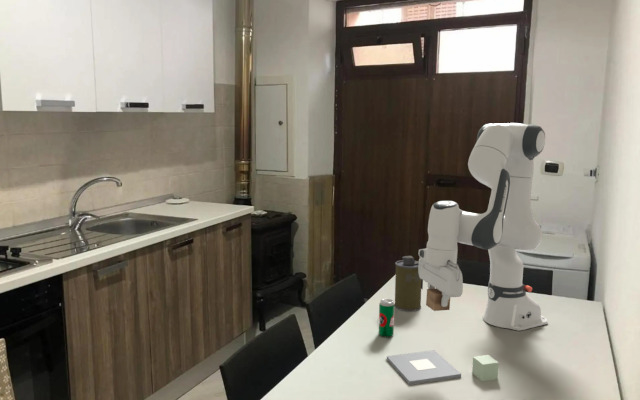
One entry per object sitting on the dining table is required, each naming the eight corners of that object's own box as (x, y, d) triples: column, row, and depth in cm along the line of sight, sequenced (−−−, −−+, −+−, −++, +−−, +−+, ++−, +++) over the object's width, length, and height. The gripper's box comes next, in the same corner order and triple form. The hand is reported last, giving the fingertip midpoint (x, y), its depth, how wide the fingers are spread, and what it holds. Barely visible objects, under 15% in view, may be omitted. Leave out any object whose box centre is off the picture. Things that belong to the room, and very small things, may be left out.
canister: (400, 312, 197) (401, 261, 194) (390, 302, 207) (391, 254, 204) (426, 309, 199) (428, 259, 196) (415, 300, 209) (417, 252, 206)
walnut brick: (440, 304, 157) (442, 288, 156) (449, 309, 152) (450, 293, 151) (425, 305, 155) (427, 288, 155) (434, 310, 150) (435, 294, 150)
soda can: (393, 338, 173) (393, 304, 171) (377, 337, 174) (378, 302, 172) (394, 332, 178) (394, 298, 176) (379, 331, 179) (379, 297, 177)
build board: (434, 353, 162) (434, 349, 162) (461, 377, 147) (461, 373, 147) (386, 359, 158) (386, 355, 158) (409, 384, 143) (409, 381, 143)
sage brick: (487, 370, 151) (488, 354, 150) (497, 379, 146) (498, 362, 146) (472, 373, 150) (473, 356, 149) (482, 381, 145) (482, 364, 144)
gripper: (470, 265, 142) (466, 313, 144) (434, 248, 162) (431, 291, 164) (449, 266, 141) (446, 315, 143) (415, 248, 160) (413, 292, 162)
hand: (437, 302), depth 153 cm, fingers closed on walnut brick, 5 cm apart
